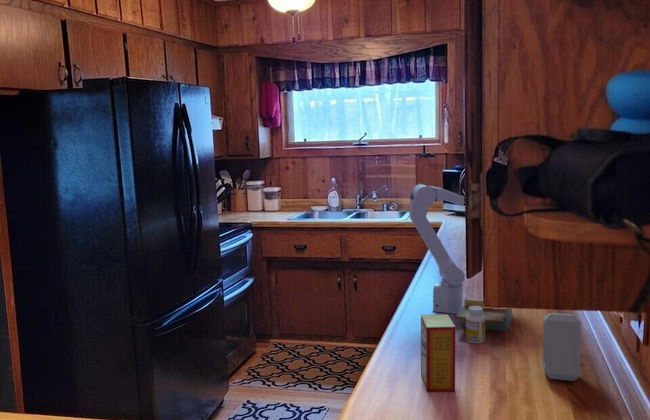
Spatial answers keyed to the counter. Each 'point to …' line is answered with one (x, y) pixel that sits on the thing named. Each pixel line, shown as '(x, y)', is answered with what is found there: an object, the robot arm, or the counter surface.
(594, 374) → the counter surface
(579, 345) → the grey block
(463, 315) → the lid
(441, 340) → the baking soda box
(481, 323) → the supplement bottle
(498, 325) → the teal shallow tray
